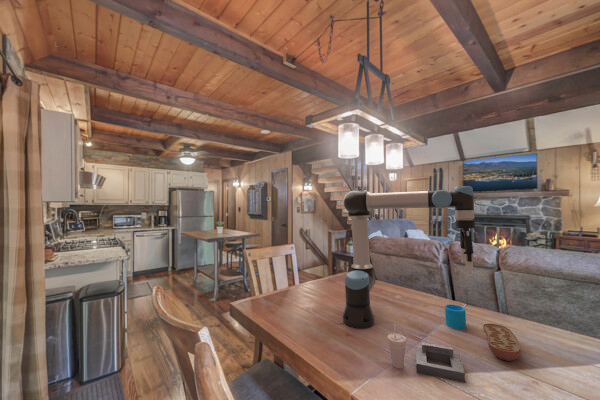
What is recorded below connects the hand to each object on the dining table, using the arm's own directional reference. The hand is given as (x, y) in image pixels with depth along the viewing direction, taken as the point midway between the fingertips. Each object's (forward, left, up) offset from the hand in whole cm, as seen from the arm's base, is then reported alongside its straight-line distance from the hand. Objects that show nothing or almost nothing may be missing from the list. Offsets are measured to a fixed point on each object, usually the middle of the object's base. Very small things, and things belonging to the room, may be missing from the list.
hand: (467, 265), depth 119 cm
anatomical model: (+7, -18, -28) cm, 34 cm away
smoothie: (-28, -43, -28) cm, 58 cm away
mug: (-5, 0, -28) cm, 28 cm away
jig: (-16, -39, -28) cm, 50 cm away
